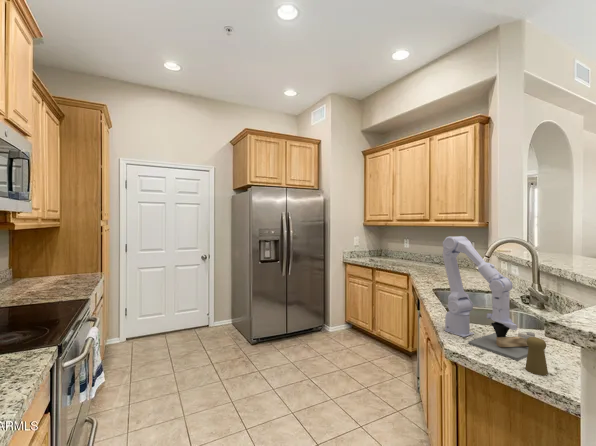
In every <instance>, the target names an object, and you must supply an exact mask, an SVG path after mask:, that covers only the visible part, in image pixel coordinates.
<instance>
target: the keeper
mask: <svg viewBox="0 0 596 446" xmlns="http://www.w3.org/2000/svg"><path fill="white" fill-rule="evenodd" d="M517 337H521V338H525V339H528V338H529V337H534V336H530V335H527V333H522V332H518V333H517Z"/></svg>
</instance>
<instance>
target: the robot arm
mask: <svg viewBox="0 0 596 446" xmlns="http://www.w3.org/2000/svg"><path fill="white" fill-rule="evenodd" d="M442 247H443V248H442V259H443V264H444V267H445V268H444V269H445V272H446V276H447V281H448V285H449V290H450V293H449V295H448V296H447V301H448V302H447V309H448V311H447V312H446V314H445V316H444V317H445V319H444V320H445V321H444V322H445V324H444V325H445V326H444V327H445V329H444V332H447V333H450V334H453V335H456V336H459V337H463V338H467V337H469V336H472V335H474V334H475V333H474V332H472V331H470V325H471V324H470V323H471V322H470V314H471V311H472V310H473V307H474V303H473V302H472V300H471V299H470V296H469V294H468V293H467V292H465V290H464V285H463V282H462V281H463V280H462V277H461V276H462V275H461V272H460V269H459V268H460V267H459V264H458V260H457V257H458V256H459V254H460V253H463V254H465V256H467V257H468V258H469V259H470V260H471V261H472V262H473V263H474V264H475V266H477V272H479V274H480V275H481V276H482V277H483V278H484V279H485V281H486V282H487V283H488V288H489V289H490V291H491V296H492V297H491V298H492V299H491V300H492V301H491V302H492V303H491V306H492V310H491V311H492V313H486V319H488V320H489V319H490V320H492V321H493V322H491V326H492V327H493V330H494V333H496V336H497V337H506V336H507V334H508V332H509V330H511V331H517V330H518V325H517V324H516V323H514V321H513V319H512V318H510V316H511V315H510V313H511V312H510V310H511V309H510V303H511V302H510V291H511V290H513V282H512V281H511V279H510V278H509V277H507V276H506V277H505V276H504V274H503V273H502V274H501V273H500V272H499V270H498V269H497V268H495V267H496V266H495V264H493V263H490V262H486V261H485V259H484V258H483V257H482V256H481V254H480V253H479V252H478V251H477V250H476V248H475V247H474V246H473V244H472V242H471V241H470V240H469V239H468V237H466V236H464V235H460V236H459V235H458V236H451V235H450V236H446V237H445V239H444V240H443V241H442Z"/></svg>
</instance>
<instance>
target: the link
mask: <svg viewBox="0 0 596 446" xmlns="http://www.w3.org/2000/svg"><path fill="white" fill-rule="evenodd" d="M535 337H536V338H538V337H537V336H535ZM496 344H497V345H498V346H500V347H521V346H528V345H527V339H525V338H521V337H518V336H507V337H496Z"/></svg>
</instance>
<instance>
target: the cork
mask: <svg viewBox="0 0 596 446" xmlns="http://www.w3.org/2000/svg"><path fill="white" fill-rule="evenodd" d="M536 337H537V336H535V337H529V338H528V339H527V345H528V347H529V348H528V355H527V357H526V362H525V370H526V371H527V372H528V373H530V374H533V375H537V376H549V371H548V365H547V358H546V353H545V349H546V348H547V343H546V341H545V340H544V339H542V338H540V337H537V338H536Z"/></svg>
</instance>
